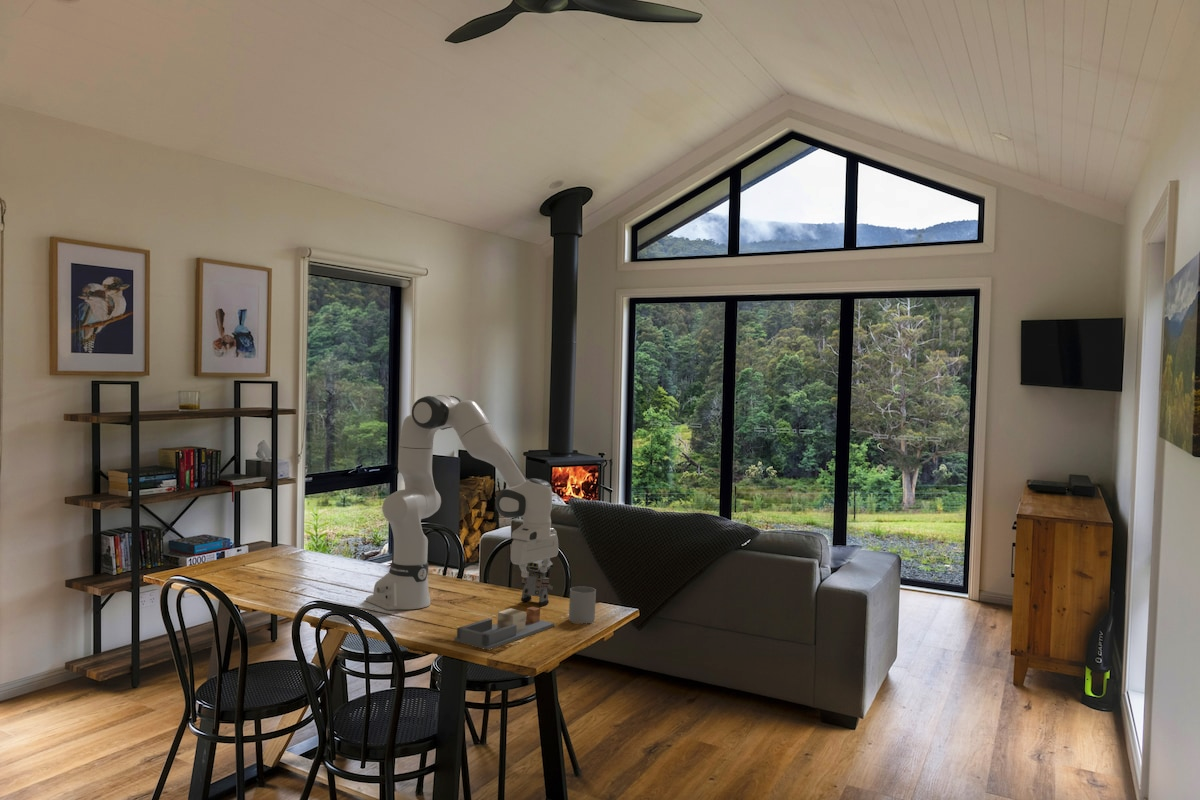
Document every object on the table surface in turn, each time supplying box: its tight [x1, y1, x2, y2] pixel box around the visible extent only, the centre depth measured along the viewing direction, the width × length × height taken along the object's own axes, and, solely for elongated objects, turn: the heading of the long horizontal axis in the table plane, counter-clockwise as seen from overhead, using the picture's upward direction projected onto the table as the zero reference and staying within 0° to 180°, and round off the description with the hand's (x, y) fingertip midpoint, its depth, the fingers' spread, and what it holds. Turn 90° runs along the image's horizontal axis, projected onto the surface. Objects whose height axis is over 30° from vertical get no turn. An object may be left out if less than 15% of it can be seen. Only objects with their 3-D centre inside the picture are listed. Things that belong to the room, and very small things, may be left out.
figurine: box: [520, 560, 554, 607], centre depth 284 cm, size 9×12×15 cm
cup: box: [568, 585, 597, 625], centre depth 264 cm, size 8×8×10 cm
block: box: [496, 606, 541, 631], centre depth 252 cm, size 6×15×5 cm, turn 146°
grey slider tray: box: [453, 618, 555, 651], centre depth 246 cm, size 13×31×4 cm, turn 146°
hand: (534, 574), depth 257 cm, fingers open, 8 cm apart
